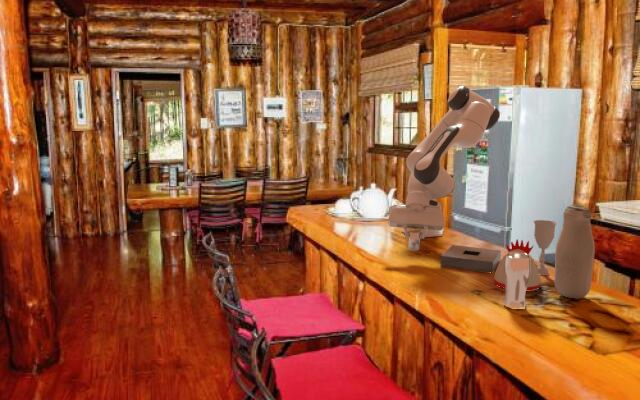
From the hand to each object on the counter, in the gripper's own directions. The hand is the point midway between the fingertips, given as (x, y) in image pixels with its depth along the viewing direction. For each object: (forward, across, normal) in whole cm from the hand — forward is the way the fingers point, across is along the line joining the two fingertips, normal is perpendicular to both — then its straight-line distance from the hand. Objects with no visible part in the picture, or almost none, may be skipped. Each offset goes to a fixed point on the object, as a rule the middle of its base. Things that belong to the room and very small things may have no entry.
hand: (414, 237), depth 193 cm
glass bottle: (+24, +48, -12) cm, 55 cm away
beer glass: (+33, +31, -20) cm, 50 cm away
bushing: (+3, 0, +4) cm, 5 cm away
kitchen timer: (+18, +34, -5) cm, 39 cm away
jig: (+3, +21, +10) cm, 23 cm away
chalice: (+8, +44, +5) cm, 45 cm away
